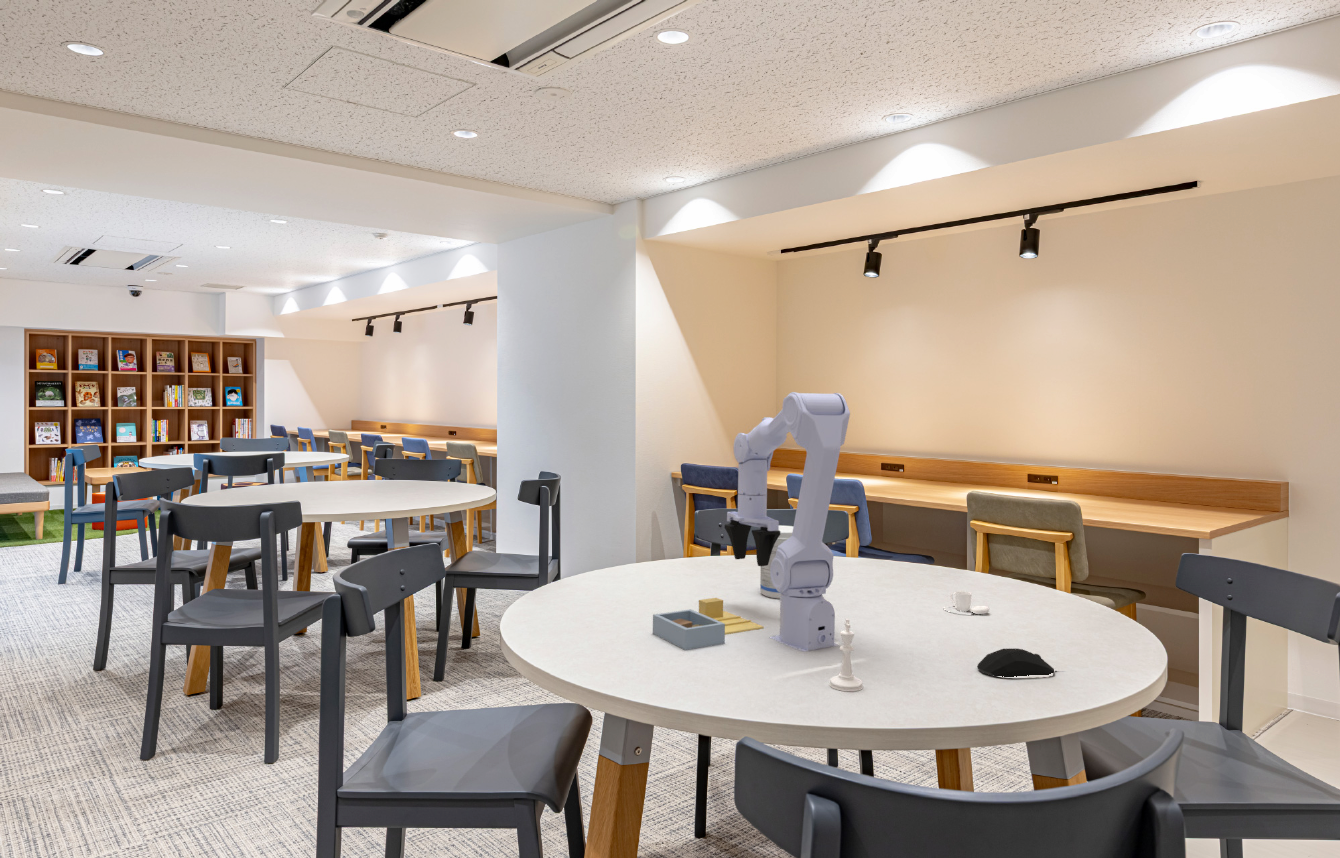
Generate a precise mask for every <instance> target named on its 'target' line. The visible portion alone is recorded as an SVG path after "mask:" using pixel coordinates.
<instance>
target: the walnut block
mask: <svg viewBox="0 0 1340 858" xmlns="http://www.w3.org/2000/svg"><path fill="white" fill-rule="evenodd" d="M673 622H675V623H677V624H679V625H682V626H684V627H686V628H691V627H692V622H691V621H687V620H683V619H677V620H673Z"/></svg>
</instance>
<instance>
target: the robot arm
mask: <svg viewBox="0 0 1340 858" xmlns="http://www.w3.org/2000/svg"><path fill="white" fill-rule="evenodd" d="M781 408H782V409H781V410H780V411H779V412H778V413H777V415H775V417H770V416H769V417H767V416H766V417H763V418H762V419H761V421H760V422H759V423H758V424H757V425H756V426H754V427H753V428H752V430H751V431H749V432H748V433H744V432H739V433H737V434H736V436H735V438H734V441H733V455H734V459H735V460H736V462H737V463H738V468H737V469H738V472H737V474H738V476H737V511H727V512H726V522H729V523H725V524H724V530H725V531H726V533H727V535H728V537H729V539H730V542H731V547H732V551H733V556H734V557H733V558H734V560H744V559H746V555H747V546H748V539H749V533H750V531H751V533H752V536H753V540H754V544H755V551H756V563H757V566H758V567H761V566H767V565H768V563H769V560H770V556H771V552H772V549H773V547H774V544H775V542H776V540H777V539H778V537H779V536H780V531H779V526H780V523H779V522H780V521H779V520H777V519H774V518H772V517H769V516H768V515H767V511H768V508H767V506H768V504H767V503H768V502H767V501H768V472H769V471H770V469H771V463H772V462H771V461H772V459H773V456H774V451H776V450H777V449H778V448H779V447H780V446H782V445H783V444H784V443H785V442H786V440H787V438H788V436H787V435H788V433H790V434H791V436H792V438H793V440H794V441H795V443H796V445H798V446H800V447H802V448H803V449H805V451H806V456H805V462H804V468H803V473H802V478H801V484H800V490H799V494H798V495H799V496H798V501H797V506H796V511H795V516H794V522H793V532H792V536H791V537H790V538H788V539H787V540H786V541H784V542H783V543H782V544H780V545H779V546H778V547H777V552H776V555H775V557H774V559H773V561H772V563H771V567H770V577H771V581H772V584H773V586H774V587H775V588H776V590H777V591H778V592H780V599H779V602H780V605H779V634H778V635H777V634H776V635H773V636H769V639H772V640H774V641H776V642H778V643H781V644H783V645H786V646H788V647H791V648H794V649H796V650H798V651H800V652H809V651H814V650H815V651H816V650H820V649H825V648H830V647H837V646H838V645H839V644H837V643H836V642H835V631H836V630H835V628H836V625H835V620H836V613H835V609H834V606H833V604H832V603H831V602H830V601H828V600H827V599H825V597H824V596H823V595H825V594H826V592H827V589H828V588H830V585H831V584H832V582H833V578H834V565H833V564H834V563H833V562H834V557H835V556H834V553H833V552H832V550H831V549H830V547H828V544H827V545H826V543H824V542H823V538H824V533H825V530H826V529H825V527H826V523H827V520H828V513H829V509H830V504H831V503H830V502H831V499H832V492H833V487H834V483H835V478H836V472H837V468H838V463H839V457H840V454H841V453H840V452H841V447H842V446H843V445H844V444H845V440H846V436H847V431H848V426H849V421H850V416H851V412H850V408H849V406H848V403H847V401H846V399H845V396H843V395H842V393H839V392H836V393H835V392H834V393H812V392H810V393H807V392H804V393H803V392H796V391H792V392H790V393H788V394H787V396H785V397H784V398H783V401H782V407H781ZM752 527H755V528H759V529H752ZM751 529H752V530H751Z"/></svg>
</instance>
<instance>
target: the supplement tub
mask: <svg viewBox="0 0 1340 858" xmlns="http://www.w3.org/2000/svg"><path fill="white" fill-rule="evenodd" d="M793 526H794V525H793ZM793 526H792V525H779V531H780V536H779V537H778V539H777V540H776V542H775V544H774V547H773V549H772V552H771V556H770V560H769V563H768V565H767V566H760V584H759V585H760V590H759V591H760V593H761V594H762V595H763V596H765V597H766V598H767V597H768V598H770V599H771V598H772V599H778V600H780V592H778V591H777V590H776V588H775V587H774V586H773V584H772V581H771V577H770V567H771V563H772V561H773V559H774V557H775V555H776V552H777V547H778V546H779V545H780V544H782V543H783V542H784V541H786V540H787V539H788V538H790V537H791V536H792V532H793Z"/></svg>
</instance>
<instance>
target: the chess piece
mask: <svg viewBox="0 0 1340 858" xmlns="http://www.w3.org/2000/svg"><path fill="white" fill-rule="evenodd" d="M844 626H845V627H844V629H845V630H844V629H843V630H841V631H840V637H841V640H842V642H843V643H842V645H840V647H839V650H840V651H842V652H843V655H842V662H841V669H840V672H838V675H834V676H831V677H830V679H829V682H828V683H829V685H828V686H829V687H831V689H833V690H836V691H841V692H849V693H850V692H859V691H861V690H863V688H864V686H863V680H861V679H860V678H858V677H856V676H855V674H854V673H853V670H852V659H851V652H854V651H855V648H854V647H853V646H852V641H853V638H854V637H855V633H854V631H852V630H850V629H851V624H850V619H849V618H845V621H844Z"/></svg>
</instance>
